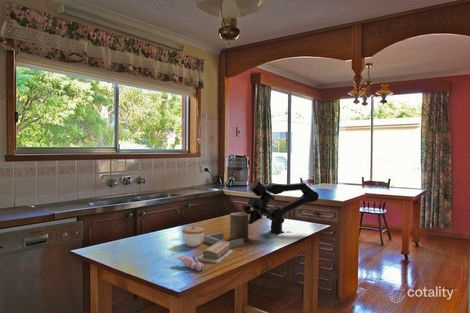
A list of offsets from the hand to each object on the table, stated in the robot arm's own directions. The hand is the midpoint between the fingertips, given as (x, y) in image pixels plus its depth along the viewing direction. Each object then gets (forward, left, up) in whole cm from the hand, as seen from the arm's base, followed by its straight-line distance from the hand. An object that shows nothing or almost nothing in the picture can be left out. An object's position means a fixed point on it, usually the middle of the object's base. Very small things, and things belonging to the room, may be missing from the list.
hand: (249, 223), depth 186 cm
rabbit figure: (+51, +18, -7) cm, 55 cm away
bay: (+18, 0, -7) cm, 19 cm away
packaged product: (+34, +13, -8) cm, 37 cm away
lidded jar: (+32, -8, -7) cm, 33 cm away
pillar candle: (+8, 0, -7) cm, 11 cm away
